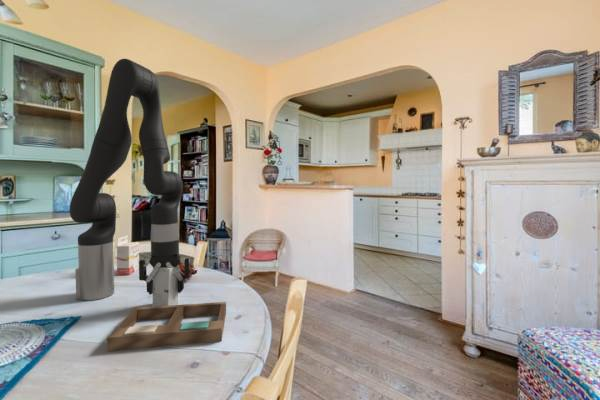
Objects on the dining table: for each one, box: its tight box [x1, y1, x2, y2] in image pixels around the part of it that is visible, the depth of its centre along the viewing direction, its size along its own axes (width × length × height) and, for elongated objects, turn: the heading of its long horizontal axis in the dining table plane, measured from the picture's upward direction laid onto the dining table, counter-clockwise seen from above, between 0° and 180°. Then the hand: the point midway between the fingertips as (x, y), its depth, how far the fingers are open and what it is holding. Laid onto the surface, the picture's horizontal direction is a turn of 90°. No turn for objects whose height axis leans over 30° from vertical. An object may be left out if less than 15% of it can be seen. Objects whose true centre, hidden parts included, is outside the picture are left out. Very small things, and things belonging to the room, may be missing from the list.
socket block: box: [106, 301, 227, 352], centre depth 71 cm, size 24×15×3 cm, turn 101°
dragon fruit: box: [178, 260, 198, 283], centre depth 108 cm, size 8×8×12 cm
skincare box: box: [152, 266, 179, 307], centre depth 84 cm, size 6×4×12 cm
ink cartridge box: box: [116, 235, 140, 276], centre depth 116 cm, size 9×5×15 cm, turn 5°
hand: (165, 292), depth 84 cm, fingers open, 7 cm apart
